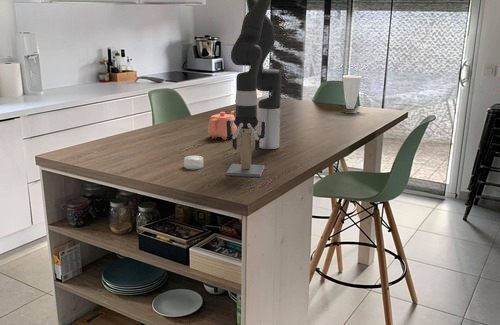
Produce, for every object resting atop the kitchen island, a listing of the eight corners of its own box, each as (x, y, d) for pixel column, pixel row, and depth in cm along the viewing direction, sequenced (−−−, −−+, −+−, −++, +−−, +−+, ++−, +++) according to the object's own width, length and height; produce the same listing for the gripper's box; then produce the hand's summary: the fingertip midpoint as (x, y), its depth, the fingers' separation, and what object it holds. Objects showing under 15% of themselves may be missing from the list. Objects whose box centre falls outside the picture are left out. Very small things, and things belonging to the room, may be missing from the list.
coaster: (232, 166, 192) (232, 163, 192) (264, 167, 190) (264, 165, 190) (226, 175, 180) (226, 172, 180) (260, 177, 179) (260, 174, 179)
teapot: (223, 142, 229) (222, 116, 226) (200, 139, 235) (200, 113, 232) (244, 134, 246) (244, 109, 243) (223, 132, 252) (223, 107, 249)
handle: (239, 166, 188) (239, 126, 185) (256, 167, 186) (256, 127, 183) (235, 169, 184) (235, 128, 180) (252, 171, 182) (252, 129, 178)
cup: (355, 114, 304) (357, 77, 298) (337, 112, 310) (339, 76, 304) (362, 111, 313) (364, 76, 307) (344, 109, 319) (346, 74, 313)
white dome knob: (187, 164, 195) (186, 155, 194) (205, 165, 194) (205, 156, 193) (182, 169, 188) (182, 159, 187) (200, 170, 187) (200, 160, 186)
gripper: (267, 102, 181) (267, 147, 186) (228, 101, 183) (228, 146, 188) (265, 105, 174) (264, 152, 179) (224, 104, 176) (224, 150, 181)
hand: (245, 149), depth 183 cm, fingers open, 7 cm apart
